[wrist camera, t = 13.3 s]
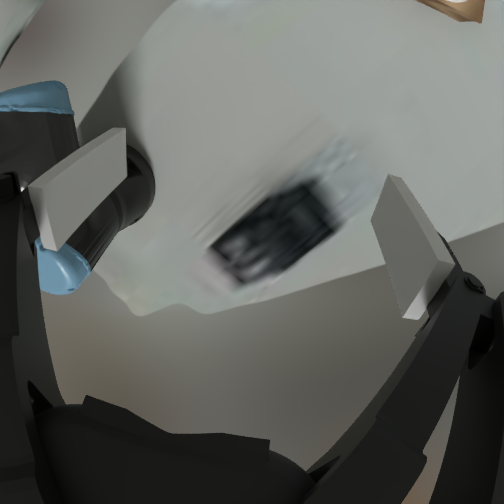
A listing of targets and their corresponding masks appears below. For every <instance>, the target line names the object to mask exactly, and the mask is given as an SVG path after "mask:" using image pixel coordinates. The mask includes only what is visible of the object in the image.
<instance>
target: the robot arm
mask: <svg viewBox="0 0 504 504" xmlns="http://www.w3.org/2000/svg"><path fill="white" fill-rule="evenodd" d="M73 115H74V111H73V110H72V108H71V104H70V100H69V95H68V91H67V88H66V86H65V85H64V84H63V83H61V82H59V81H45V82H39V83H33V84H29V85H25V86H20V87H17V88H13V89H10V90H6V91H3V92H1V93H0V504H401V503H402V501H403V500H404V499H405V497H406V496H407V494H408V492H409V491H410V490H411V488H412V486H413V485H414V483H415V482H416V480H417V479H418V477H419V475H420V474H421V472H422V470H423V468H424V466H425V464H426V462H427V457H426V456H425V455H424V454H423V449H424V447H425V445H426V443H427V441H428V440H429V438H430V436H431V434H432V432H433V430H434V429H435V427H436V425H437V423H438V421H439V419H440V417H441V415H442V413H443V411H444V409H445V407H446V404H447V402H448V400H449V398H450V396H451V394H452V391H453V389H454V387H455V384H456V382H457V380H458V377H459V375H460V379H459V387H458V393H457V399H456V405H455V410H454V416H453V421H452V426H451V430H450V434H449V439H448V443H447V447H446V451H445V455H444V458H443V462H442V465H441V469H440V472H439V475H438V478H437V482H436V485H435V488H434V491H433V493H432V496H431V499H430V502H429V504H504V292H501V293H500V295H499V296H498V297H497V299H496V300H494V299H492V298H490V297H488V296H486V291H485V288H484V286H483V285H482V283H481V282H480V281H479V280H478V279H477V278H476V277H475V276H474V275H472V274H470V273H467V272H463V270H462V268H461V266H460V264H459V262H458V261H457V259H456V257H455V256H454V255H453V252H452V250H451V249H450V247H449V245H448V243H447V242H446V240H445V239H444V238H443V237H442V236H441V235H440V234H439V233H438V232H437V231H436V229H435V228H434V226H433V225H432V223H431V221H430V220H429V218H428V217H427V215H426V213H425V212H424V210H423V209H422V207H421V206H420V204H419V203H418V201H417V200H416V198H415V197H414V195H413V194H412V192H411V191H410V189H409V188H408V187H407V185H406V184H405V182H404V181H403V180H402V178H400V177H396V176H393V175H389V174H388V176H387V179H386V181H385V184H384V187H383V190H382V192H381V195H380V198H379V200H378V203H377V205H376V208H375V210H374V213H373V216H372V218H371V223H372V226H373V228H374V231H375V234H376V237H377V239H378V242H379V245H380V248H381V251H382V254H383V257H384V260H385V263H386V266H387V269H388V272H389V275H390V278H391V281H392V284H393V287H394V291H395V294H396V298H397V301H398V305H399V308H400V312H401V315H402V318H409V319H417V320H418V319H419V318H420V317H421V315H422V314H423V313H424V311H425V310H426V309H427V310H428V314H429V318H428V319H427V320H426V322H425V323H424V324H423V326H422V327H421V328H420V330H419V331H418V332H417V333H416V335H415V336H416V338H415V339H414V341H413V343H412V344H411V346H410V347H409V349H408V350H407V352H406V353H405V355H404V356H403V358H402V359H401V361H400V362H399V364H398V365H397V367H396V368H395V370H394V371H393V372H392V374H391V375H390V377H389V378H388V379H387V381H386V382H385V383H384V385H383V386H382V388H381V389H380V390H379V391H378V393H377V394H376V396H375V397H374V398H373V400H372V401H371V402H370V403H369V404H368V406H367V407H366V408H365V410H364V411H363V412H362V413H361V414H360V416H359V417H358V418H357V419H356V420H355V422H354V423H353V424H352V425H351V426H350V427H349V429H348V430H347V431H346V432H345V433H344V434H343V436H342V437H341V438H340V439H339V440H338V441H337V442H336V443H335V444H334V446H333V447H332V448H331V449H330V450H329V451H328V452H327V453H326V454H325V455H323V456H322V457H321V458H320V459H319V460H318V461H317V462H315V463H314V464H313V465H312V466H311V467H310V468H309V469H308V470H307V471H306V472H305V471H304V470H303V469H302V468H301V467H299V466H298V465H297V464H296V463H294V462H293V461H291V460H290V459H288V458H286V457H285V456H282V455H281V454H279V453H276V452H274V451H271V450H269V445H270V440H267V439H259V438H252V437H245V436H238V435H232V434H226V433H207V434H206V433H205V434H172V433H168V432H166V431H164V430H162V429H160V428H158V427H156V426H155V425H153V424H151V423H149V422H147V421H146V420H144V419H142V418H141V417H139V416H137V415H135V414H134V413H132V412H130V411H129V410H127V409H125V408H122V407H119V406H116V405H113V404H110V403H107V402H105V401H102V400H99V399H96V398H94V397H91V396H88V395H86V396H85V399H84V401H83V404H68V405H66V404H65V402H64V400H63V398H62V396H61V394H60V391H59V388H58V385H57V381H56V377H55V373H54V368H53V364H52V360H51V355H50V350H49V346H48V340H47V335H46V329H45V323H44V317H43V309H42V302H41V293H40V289H41V290H43V291H46V292H48V293H52V294H56V295H66V294H70V293H72V292H74V291H75V290H76V289H77V288H78V287H79V286H80V284H81V283H82V282H83V281H84V279H85V278H86V277H88V276H89V274H90V272H91V271H92V269H93V268H94V266H95V265H96V263H97V262H98V260H99V259H100V257H101V256H102V254H103V253H104V251H105V250H106V248H107V247H108V246H109V244H110V243H111V241H112V240H113V238H114V237H115V236H116V234H117V233H118V232H119V231H121V230H123V229H124V228H126V227H128V226H130V225H132V224H134V223H136V222H137V221H139V220H140V219H141V218H142V217H143V216H144V215H145V213H146V212H147V211H148V209H149V208H150V206H151V205H152V203H153V200H154V196H155V181H154V177H153V174H152V171H151V169H150V167H149V165H148V163H147V162H146V161H145V159H144V158H143V157H142V156H141V155H140V154H139V153H138V152H137V151H136V150H135V149H133V148H132V147H130V146H128V145H126V128H115V127H113V128H111V129H110V130H108V131H106V132H105V133H103V134H101V135H100V136H98V137H96V138H95V139H93V140H92V141H90V142H89V143H87V144H85V145H84V146H82V147H81V148H80V146H79V142H78V137H77V132H76V127H75V122H74V116H73Z"/></svg>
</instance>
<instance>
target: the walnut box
mask: <svg viewBox="0 0 504 504" xmlns="http://www.w3.org/2000/svg"><path fill="white" fill-rule="evenodd" d="M416 1H418V2H421V3H423V4H425V5H427V6H429V7H431V8H433V9H436V10H438V11H440V12H442V13H444V14H446V15H447V16H449V17H451V18H453V19H455V20H457V21H459V22H464V21H476V22H478V23H482V17H483V10H484V3H485V0H467V1H465V2H460V3H455V2H450V1H447V0H416Z"/></svg>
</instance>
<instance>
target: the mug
mask: <svg viewBox="0 0 504 504" xmlns="http://www.w3.org/2000/svg"><path fill="white" fill-rule="evenodd" d="M447 1H450V2H455V3H460V2H465V1H467V0H447Z"/></svg>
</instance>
